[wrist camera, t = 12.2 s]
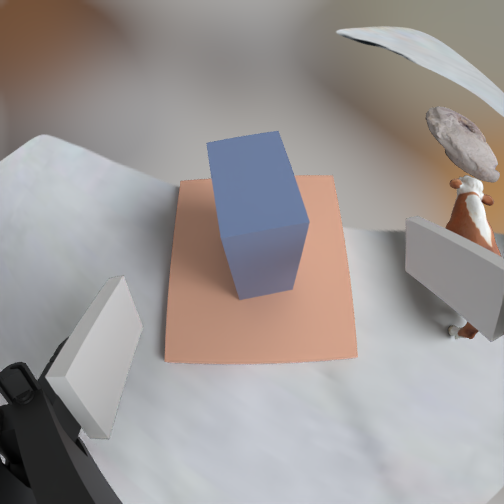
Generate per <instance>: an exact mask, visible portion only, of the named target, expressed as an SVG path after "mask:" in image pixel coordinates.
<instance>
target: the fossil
mask: <svg viewBox="0 0 504 504" xmlns="http://www.w3.org/2000/svg"><path fill="white" fill-rule="evenodd" d="M426 120H427V124H428V127H429V130H430V131H431V133H432V134H433V136H434V137H435V138H436V139H437V141H438V142H439V143H440V144H441V145H442V146H443V147H444V148H445V153H446V155H447V156H448V157H449V159H450V160H451V161H452V162H453V163H454V164H455V165H456V166H458V167H459V168H461V169H462V170H464V171H465V172H467V173H469V174H470V175H472V176H474V177H475V178H477V179H479V180H483V181H487V182H496V181H497V180H498V179H499V176H500V173H499V172H498V171H496V170H495V167H496V166H497V165H498V163H497V159H496V157H495V155H494V153H493V152H492V150H491V148H490V147H489V145H488V144H487V143H486V140H485V137H484V136H483V134H482V133H481V131H480V130H479V128H478V127H477V126H476V125H475V124H474V123H473V122H471V121H470V120H469V119H467V118H466V117H464V116H462V115H461V114H459V113H457V112H455V111H452V110H450V109H448V108H445V107H435V108H430V109H429V111H428V112H427V113H426Z"/></svg>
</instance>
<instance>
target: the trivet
mask: <svg viewBox="0 0 504 504" xmlns="http://www.w3.org/2000/svg"><path fill="white" fill-rule="evenodd" d="M295 179H296V182H297V185H298V188H299V191H300V194H301V197H302V200H303V203H304V206H305V209H306V212H307V215H308V218H309V221H310V223H309V227H308V231H307V235H306V239H305V244H304V248H303V252H302V256H301V259H300V263H299V267H298V271H297V275H296V279H295V283H294V286H293V290H288V291H283V292H278V293H274V294H269V295H264V296H259V297H253V298H248V299H243V300H239V296H238V293H237V290H236V287H235V284H234V280H233V277H232V274H231V270H230V267H229V264H228V261H227V257H226V254H225V251H224V247H223V244H222V241H221V236H220V230H219V224H218V217H217V211H216V204H215V198H214V191H213V184H212V179H199V180H185V181H181V182H180V189H179V196H178V204H177V212H176V220H175V228H174V237H173V246H172V256H171V266H170V277H169V290H168V303H167V319H166V338H165V362H168V363H186V364H229V365H240V364H283V363H302V362H318V361H330V360H342V359H352V358H356V357H358V354H357V341H356V329H355V318H354V308H353V299H352V291H351V282H350V275H349V267H348V260H347V253H346V246H345V240H344V234H343V227H342V222H341V216H340V210H339V206H338V199H337V194H336V189H335V184H334V179H333V176H328V175H326V176H324V175H323V176H322V175H320V176H319V175H311V176H310V175H308V176H307V175H306V176H305V175H303V176H295Z"/></svg>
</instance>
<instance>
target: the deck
mask: <svg viewBox="0 0 504 504" xmlns="http://www.w3.org/2000/svg"><path fill="white" fill-rule="evenodd" d="M207 150H208V157H209V164H210V171H211V178H212V184H213V191H214V198H215V204H216V211H217V217H218V224H219V230H220V236H221V241H222V244H223V247H224V251H225V254H226V257H227V261H228V264H229V267H230V270H231V274H232V277H233V280H234V284H235V287H236V290H237V293H238V296H239V300H243V299H248V298H253V297H259V296H264V295H269V294H274V293H278V292H283V291H288V290H293V286H294V283H295V279H296V275H297V271H298V267H299V263H300V259H301V256H302V252H303V248H304V244H305V239H306V235H307V231H308V227H309V223H310V221H309V218H308V215H307V212H306V209H305V206H304V203H303V200H302V197H301V194H300V191H299V188H298V185H297V182H296V179H295V176H294V173H293V171H292V167H291V165H290V162H289V159H288V156H287V153H286V151H285V148H284V145H283V142H282V140H281V137H280V134H279V132H278V131H274V132H267V133H260V134H254V135H248V136H242V137H235V138H230V139H224V140H220V141H214V142H209V143H207Z"/></svg>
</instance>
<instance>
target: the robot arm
mask: <svg viewBox="0 0 504 504" xmlns="http://www.w3.org/2000/svg"><path fill="white" fill-rule="evenodd" d="M405 271H406V272H407V273H409V274H410V275H411V276H413V277H414V278H415V279H416V280H418V281H419V282H420V283H421V284H423V285H424V286H425V287H427V288H428V289H429V290H430V291H432V292H433V293H434V294H435V295H437V296H438V297H439V298H440V299H441V300H443V301H444V302H445V303H446V304H448V305H449V306H450V307H451V308H452V309H454V310H455V311H456V312H457V313H458V314H460V315H461V316H462V317H463V318H464V319H465V320H467V321H468V322H469V323H470V324H471V325H472V326H474V327H475V328H476V329H477V330H478V331H479V332H480V333H481V334H483V335H484V336H485V337H486V338H487V339H488V340H489V341H490V342H492V341H494V340H496V339H497V338H499V337H501V336H502V335H503V334H504V258H503V257H501V256H499V255H497V254H495V253H493V252H492V251H490V250H488V249H486V248H484V247H482V246H480V245H478V244H476V243H474V242H472V241H470V240H468V239H466V238H464V237H462V236H460V235H458V234H456V233H454V232H452V231H450V230H448V229H446V228H443V227H441V226H439V225H437V224H435V223H432V222H430V221H428V220H426V219H424V218H421V217H419V216H416V217H410V218H406V260H405ZM142 330H143V325H142V322H141V320H140V317H139V315H138V312H137V310H136V307H135V304H134V302H133V299H132V296H131V294H130V291H129V288H128V285H127V282H126V280H125V277H124V275H122V276H117V277H112V278H109V279H108V280H107V282H106V283H105V285H104V286H103V287H102V289H101V290H100V292H99V293H98V294H97V296H96V297H95V299H94V300H93V302H92V303H91V305H90V306H89V308H88V309H87V311H86V312H85V314H84V315H83V317H82V318H81V320H80V321H79V323H78V324H77V326H76V327H75V329H74V330H73V332H72V333H71V335H70V337H68V338H66V339H65V340H64V341H63V342H62V343H61V344H60V345H59V346H58V348H57V349H56V351H55V353H54V355H53V356H52V357H51V359H50V363H48V364H47V366H46V367H45V369H44V371H43V372H42V374H41V376H40V377H39V379H38V381H37V380H36V379H35V377H34V376H33V374H32V373H31V371H30V369H29V368H28V366H27V365H26V363H23V362H17V363H14V364H11V365H9V366H8V367H6V368H5V369H3V370H2V371H1V372H0V393H1V394H2V395H3V397H4V398H5V399H6V401H7V402H8V404H7V405H3V406H0V454H1V455H2V456H3V457H4V458H5V464H3V463H2V460H1V458H0V504H123V503H122V502H121V501H120V499H119V498H118V497H117V495H116V494H115V492H114V491H113V489H112V488H111V487H110V485H109V484H108V482H107V481H106V479H105V478H104V476H103V474H102V473H101V471H100V470H99V468H98V466H97V465H96V463H95V462H94V460H93V458H92V457H91V455H90V453H89V451H88V450H87V448H86V446H85V444H84V443H83V441H82V440H81V439H80V438H79V437H78V435H79V432H80V429H81V428H82V429H83V430H84V432H85V433H86V434H87V435H88V436H89V438H90V439H110V436H111V432H112V428H113V424H114V421H115V417H116V413H117V410H118V406H119V403H120V399H121V396H122V392H123V389H124V386H125V382H126V379H127V376H128V373H129V369H130V366H131V363H132V360H133V357H134V354H135V351H136V348H137V345H138V342H139V339H140V336H141V333H142Z"/></svg>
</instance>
